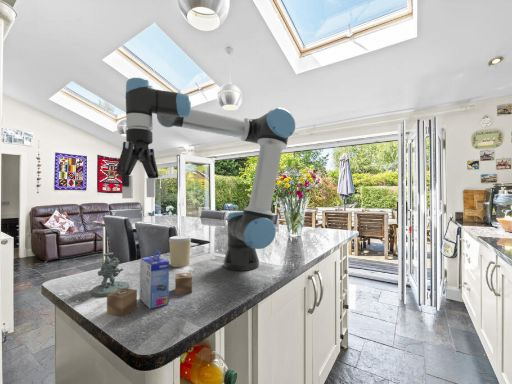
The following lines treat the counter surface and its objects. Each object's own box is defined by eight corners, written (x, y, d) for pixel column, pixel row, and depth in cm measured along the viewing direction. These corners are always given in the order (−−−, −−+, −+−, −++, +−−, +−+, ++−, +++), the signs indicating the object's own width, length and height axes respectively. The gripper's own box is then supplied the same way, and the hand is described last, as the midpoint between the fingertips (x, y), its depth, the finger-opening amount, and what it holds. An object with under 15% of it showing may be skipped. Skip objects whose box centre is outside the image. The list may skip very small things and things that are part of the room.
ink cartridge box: (170, 304, 71) (170, 253, 71) (150, 310, 68) (149, 256, 68) (157, 293, 79) (157, 247, 79) (138, 298, 75) (138, 250, 75)
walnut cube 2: (191, 287, 84) (191, 271, 84) (192, 292, 79) (191, 276, 79) (175, 289, 83) (175, 273, 83) (175, 295, 78) (175, 278, 78)
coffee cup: (190, 260, 116) (189, 234, 116) (192, 266, 108) (192, 238, 108) (168, 262, 113) (168, 236, 113) (169, 268, 104) (169, 239, 104)
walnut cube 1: (136, 308, 69) (136, 288, 69) (122, 316, 64) (122, 295, 64) (122, 305, 71) (122, 286, 71) (107, 314, 66) (106, 293, 66)
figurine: (87, 299, 75) (87, 259, 75) (94, 287, 85) (94, 251, 85) (127, 293, 79) (127, 255, 79) (129, 282, 89) (129, 248, 89)
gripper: (148, 138, 92) (148, 196, 92) (100, 119, 67) (101, 199, 67) (168, 138, 91) (168, 196, 91) (127, 118, 67) (128, 198, 67)
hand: (140, 197), depth 79 cm, fingers open, 13 cm apart
